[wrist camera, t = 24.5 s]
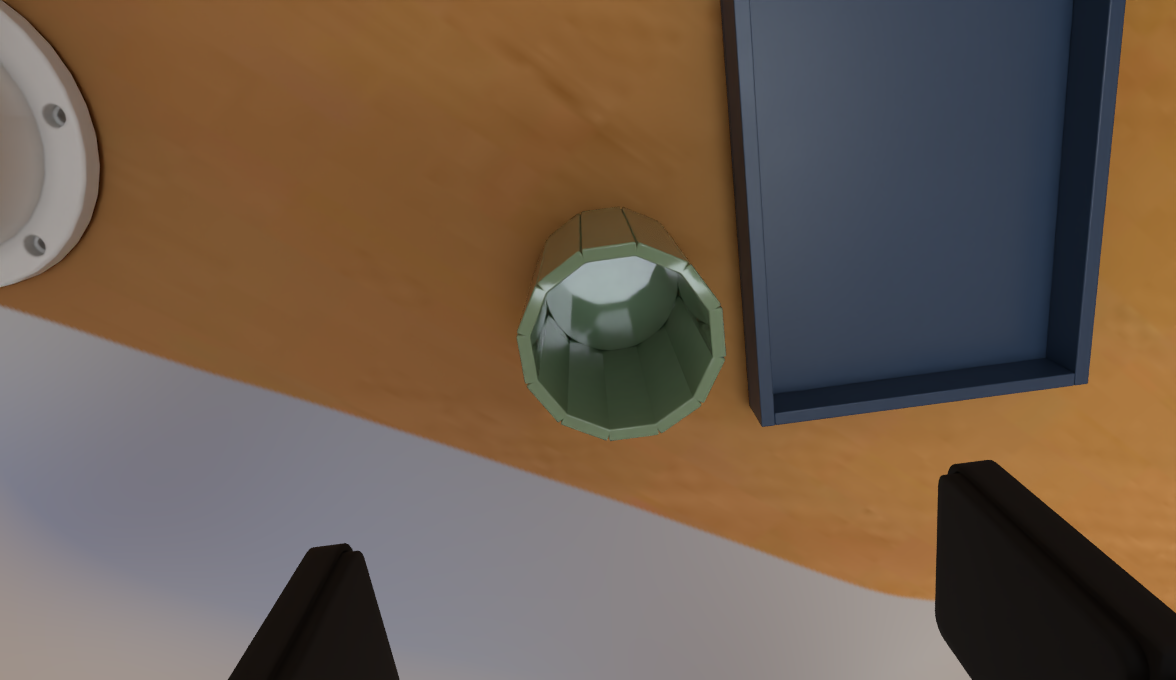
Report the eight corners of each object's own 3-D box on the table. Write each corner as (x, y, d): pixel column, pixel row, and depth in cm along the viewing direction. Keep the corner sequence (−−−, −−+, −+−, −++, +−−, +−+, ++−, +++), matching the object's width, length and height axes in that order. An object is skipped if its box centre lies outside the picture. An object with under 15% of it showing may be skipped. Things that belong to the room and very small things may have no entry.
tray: (749, 406, 32) (761, 427, 30) (714, -78, 26) (727, -96, 24) (1053, 365, 32) (1088, 384, 30) (1094, -138, 25) (1142, -161, 23)
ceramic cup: (548, 364, 31) (537, 451, 23) (523, 220, 29) (502, 260, 21) (692, 344, 31) (731, 425, 23) (678, 197, 29) (715, 230, 21)
